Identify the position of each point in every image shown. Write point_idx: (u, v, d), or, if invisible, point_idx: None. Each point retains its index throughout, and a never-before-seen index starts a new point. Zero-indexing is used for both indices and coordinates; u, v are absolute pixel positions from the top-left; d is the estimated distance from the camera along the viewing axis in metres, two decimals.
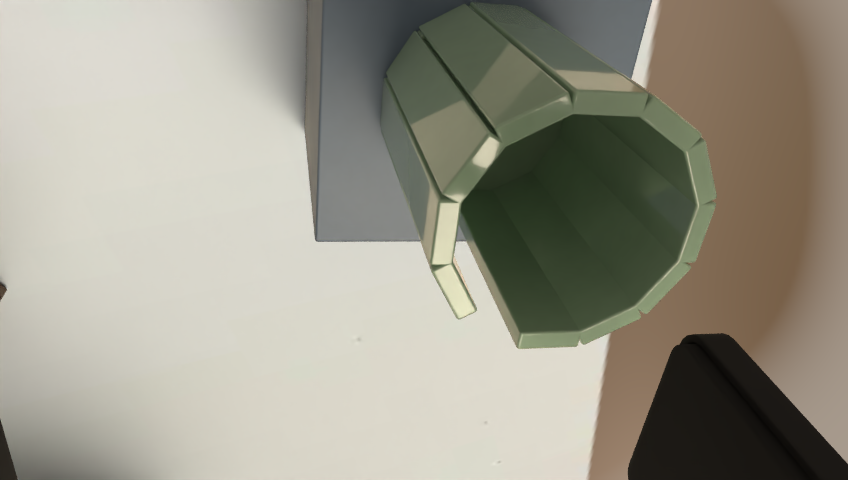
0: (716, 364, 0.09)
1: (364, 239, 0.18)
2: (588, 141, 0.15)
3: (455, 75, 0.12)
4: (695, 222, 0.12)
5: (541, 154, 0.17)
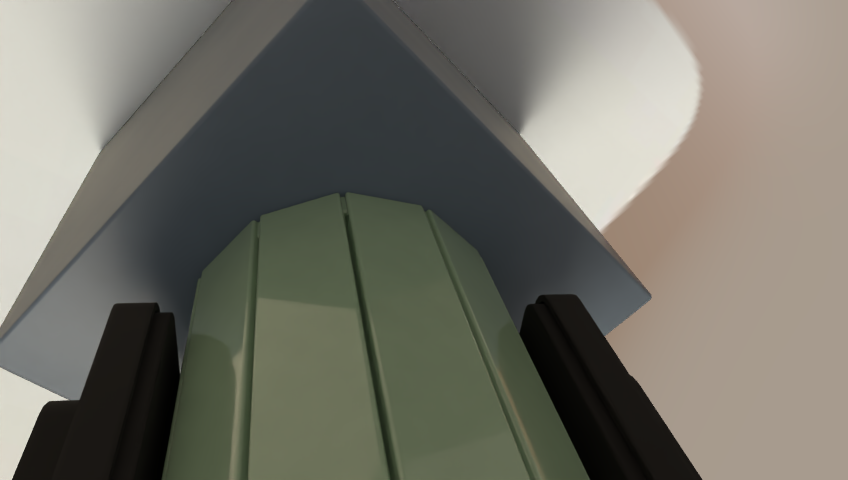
0: (559, 322, 0.10)
1: (64, 395, 0.11)
2: None
3: (378, 357, 0.07)
4: None
5: None
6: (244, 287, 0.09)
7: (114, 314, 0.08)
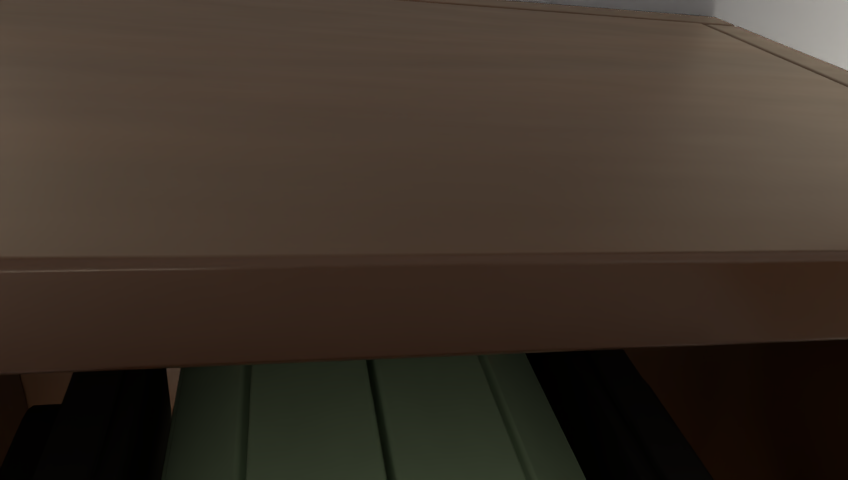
0: None
1: None
2: None
3: None
4: None
5: None
6: None
7: None
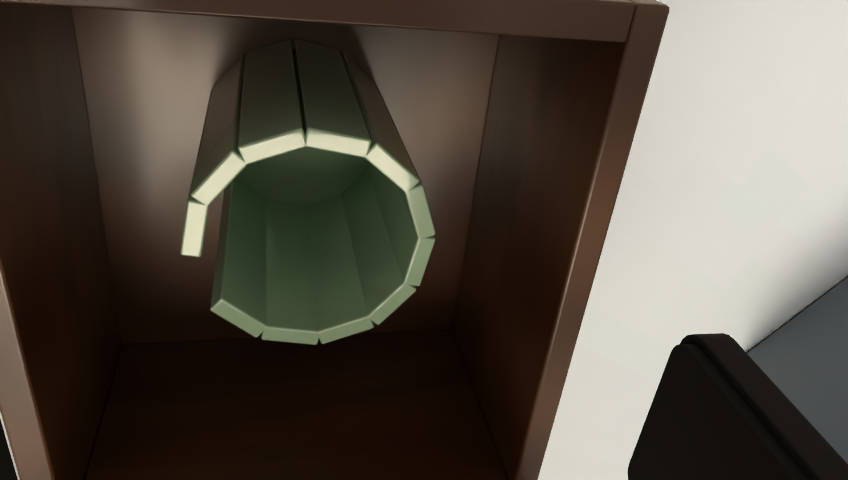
0: (717, 365, 0.09)
1: None
2: (360, 207, 0.18)
3: (301, 83, 0.14)
4: (395, 295, 0.15)
5: (320, 198, 0.20)
6: (237, 76, 0.16)
7: None
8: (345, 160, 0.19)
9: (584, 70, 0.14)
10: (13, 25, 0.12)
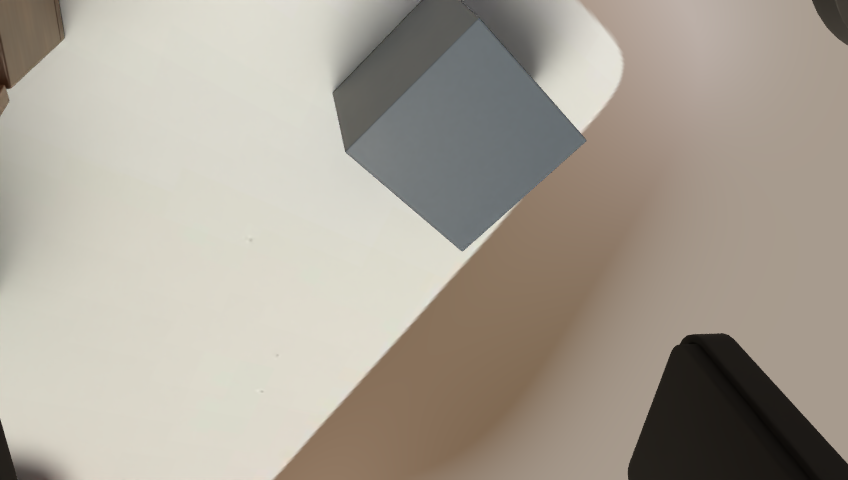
0: (716, 365, 0.09)
1: (367, 169, 0.30)
2: None
3: None
4: None
5: None
6: None
7: None
8: None
9: None
10: None
